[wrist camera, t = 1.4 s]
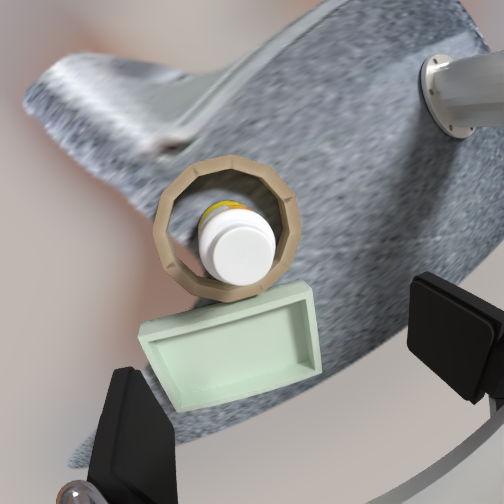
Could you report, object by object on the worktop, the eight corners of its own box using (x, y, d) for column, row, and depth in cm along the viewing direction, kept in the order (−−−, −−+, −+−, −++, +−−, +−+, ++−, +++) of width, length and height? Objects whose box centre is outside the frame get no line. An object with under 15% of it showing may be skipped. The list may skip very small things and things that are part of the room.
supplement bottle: (264, 235, 29) (300, 268, 19) (217, 265, 29) (230, 313, 19) (235, 187, 27) (259, 197, 18) (186, 219, 27) (182, 246, 17)
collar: (278, 145, 27) (285, 143, 25) (302, 271, 31) (309, 278, 29) (141, 178, 25) (137, 179, 23) (180, 305, 29) (179, 315, 27)
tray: (301, 278, 31) (312, 289, 28) (313, 358, 35) (322, 372, 32) (141, 322, 29) (137, 337, 26) (177, 396, 33) (177, 413, 30)
